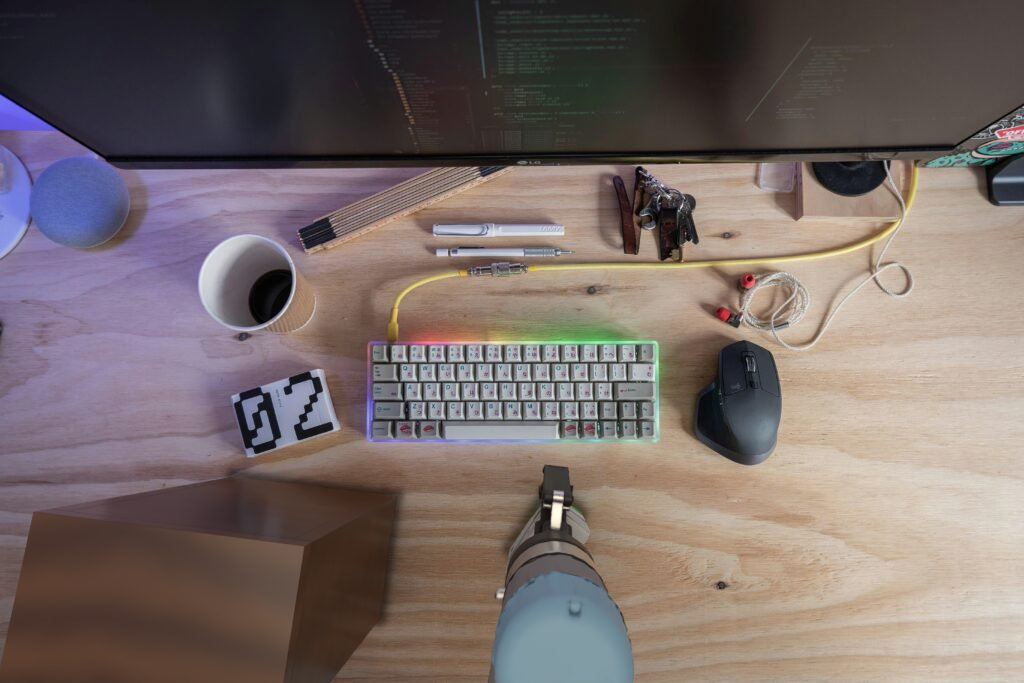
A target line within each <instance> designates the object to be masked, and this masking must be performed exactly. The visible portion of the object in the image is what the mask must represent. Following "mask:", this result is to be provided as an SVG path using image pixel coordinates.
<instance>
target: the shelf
mask: <svg viewBox="0 0 1024 683" xmlns="http://www.w3.org/2000/svg"><path fill="white" fill-rule="evenodd" d="M311 546H312V542H308V541H301V540H293V539H285V538H277V537H269V536H261V535H253V534H245V533H237V532H229V531H221V530H214V529H206V528H198V527H190V526H182V525H174V524H166V523H158V522H150V521H142V520H134V519H127V518H119V517H111V516H103V515H95V514H87V513H79V512H71V511H63V510H55V509H51V508H45V509H40V510H34V511H33V512H32V516H31V520H30V524H29V529H28V534H27V539H26V543H25V549H24V554H23V558H22V562H21V567H20V572H19V576H18V581H17V585H16V590H15V595H14V599H13V604H12V609H11V614H10V619H9V623H8V628H7V633H6V636H5V641H4V646H3V651H2V656H1V660H0V683H291V676H292V670H293V663H294V657H295V650H296V644H297V637H298V631H299V624H300V617H301V611H302V604H303V598H304V591H305V585H306V578H307V572H308V565H309V559H310V552H311Z"/></svg>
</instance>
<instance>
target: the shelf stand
mask: <svg viewBox="0 0 1024 683" xmlns="http://www.w3.org/2000/svg"><path fill="white" fill-rule="evenodd" d="M396 502H397V495H390V494H383V493H382V494H381V493H374V492H365V491H358V490H357V491H356V490H350V489H349V490H348V489H340V488H332V487H326V486H324V487H323V486H317V485H316V486H315V485H308V484H301V483H293V482H283V481H277V480H276V481H274V480H267V479H259V478H252V477H251V478H250V477H243V476H234V475H233V476H228V477H222V478H216V479H210V480H205V481H200V482H194V483H189V484H182V485H177V486H171V487H166V488H159V489H154V490H148V491H142V492H137V493H131V494H126V495H120V496H115V497H114V496H113V497H108V498H103V499H98V500H92V501H86V502H81V503H74V504H69V505H63V506H57V507H52V508H50V509H55V510H63V511H71V512H79V513H87V514H95V515H103V516H111V517H119V518H127V519H134V520H142V521H150V522H158V523H166V524H174V525H182V526H190V527H198V528H206V529H214V530H221V531H229V532H237V533H245V534H253V535H261V536H269V537H277V538H285V539H293V540H301V541H308V542H312V546H311V552H310V559H309V565H308V572H307V578H306V585H305V591H304V598H303V604H302V611H301V617H300V624H299V631H298V637H297V644H296V650H295V657H294V663H293V670H292V676H291V683H332V682H333V680H334V679H335V678H336V677H337V675H338V674H339V673H340V671H341V670H342V668H343V667H344V666H345V665H346V664H347V662H348V661H349V660H350V658H351V657H352V656H353V654H354V653H355V652H356V650H357V649H358V648H359V647H360V645H361V644H362V643H363V641H364V640H365V639H366V637H367V636H368V635H369V634H370V633H371V631H372V630H373V628H374V627H375V626H376V624H378V622H379V621H380V619H381V613H382V605H383V599H384V590H385V586H386V576H387V570H388V563H389V555H390V549H391V548H390V547H391V540H392V533H393V527H394V518H395V510H396Z"/></svg>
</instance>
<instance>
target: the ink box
mask: <svg viewBox="0 0 1024 683" xmlns="http://www.w3.org/2000/svg"><path fill="white" fill-rule="evenodd" d="M540 512H541V503H540V504H539V505H538V506H537V508H536V510H535V511H534V512H533V514H532V515H531V517H530V518H529V520H528V522H527V523H526V524H525V526H524V527H523V528H522V530H521V532H520V533H519V534H518V536H517V538H516V539H515V540H514V542H513V544H512V545H511V546H510V548H509V552H508V556H507V561H506V565H505V566H506V567H505V570H504V571H505V572H504V575H506V573H507V568H508V564H509V561H510V559H511V557H512V555H513V553H514V552H515V550H516V549H517V548H518V547H519V545H521V544H522V543H523V542H524V541H525V540H527V539H528V538H530V537H532V536H534V528H535V522H536V521H539V520H540ZM566 520H567V524H569V525H571V526H572V537H574V538H575V539H577V540H578V541H579V542H580V543H582V544H583V545H584V546H585V543H586V542H587V541H588V539H589V538H590V536H591V533H592V532H591V530H590V527H589V526H588V524H587V521H586V519H585V517H584V515H583V512H582V511H581V510H579V509H578V508H577V507H575V506H574V505H573V504H572V505H571V506H570V511H566Z"/></svg>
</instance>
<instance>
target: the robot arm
mask: <svg viewBox="0 0 1024 683" xmlns="http://www.w3.org/2000/svg"><path fill="white" fill-rule="evenodd" d="M541 471H542V474H543V475H542V476H543V480H542V482H541V484H540V485H538V491H537V492H538V500H540V504H541V512H540V520H539V521H536V522H535V528H534V536H532V537H530V538H528V539H527V540H525V541H524V542H523V543H522V544H521V545H519V547H518V548H517V549H516V550H515V552H514V553H513V555H512V557H511V559H510V561H509V564H508V568H507V573H506V574H505V580H504V587H503V586H502V587H497V588H496V589H495V592H494V596H493V597H494V600H495V601H496V602H498V603H501V609H500V613H499V616H498V619H497V622H496V626H495V630H494V640H493V646H492V650H491V660H490V661H491V662H490V668H489V673H488V677H487V678H488V679H487V683H634V681H635V663H634V654H633V647H632V640H631V639H630V636H629V635H628V632H629V631H628V630H629V629H628V627H627V624H626V622H625V617H624V615H623V613H622V611H621V609H620V607H619V606H618V604H617V603H616V601H615V600H614V599H613V598H612V596H611V594H609V591H608V589H607V586H606V584H605V582H604V579H603V577H602V574H601V572H600V569H599V566H598V565H597V564H596V562H595V560H594V557H593V556H592V554H591V552H590V551H589V550H588V549H587V548H586V546H585V544H584V545H583V544H582V543H580V542H579V541H578V540H577V539H575V538H574V537H572V526H571V525H569V524H567V520H566V511H570V506H571V505H572V506H573V503H574V500H575V496H574V494H573V493H574V484H571V480H570V470H569V466H563V465H555V464H554V465H553V464H543V467H542V470H541Z"/></svg>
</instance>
